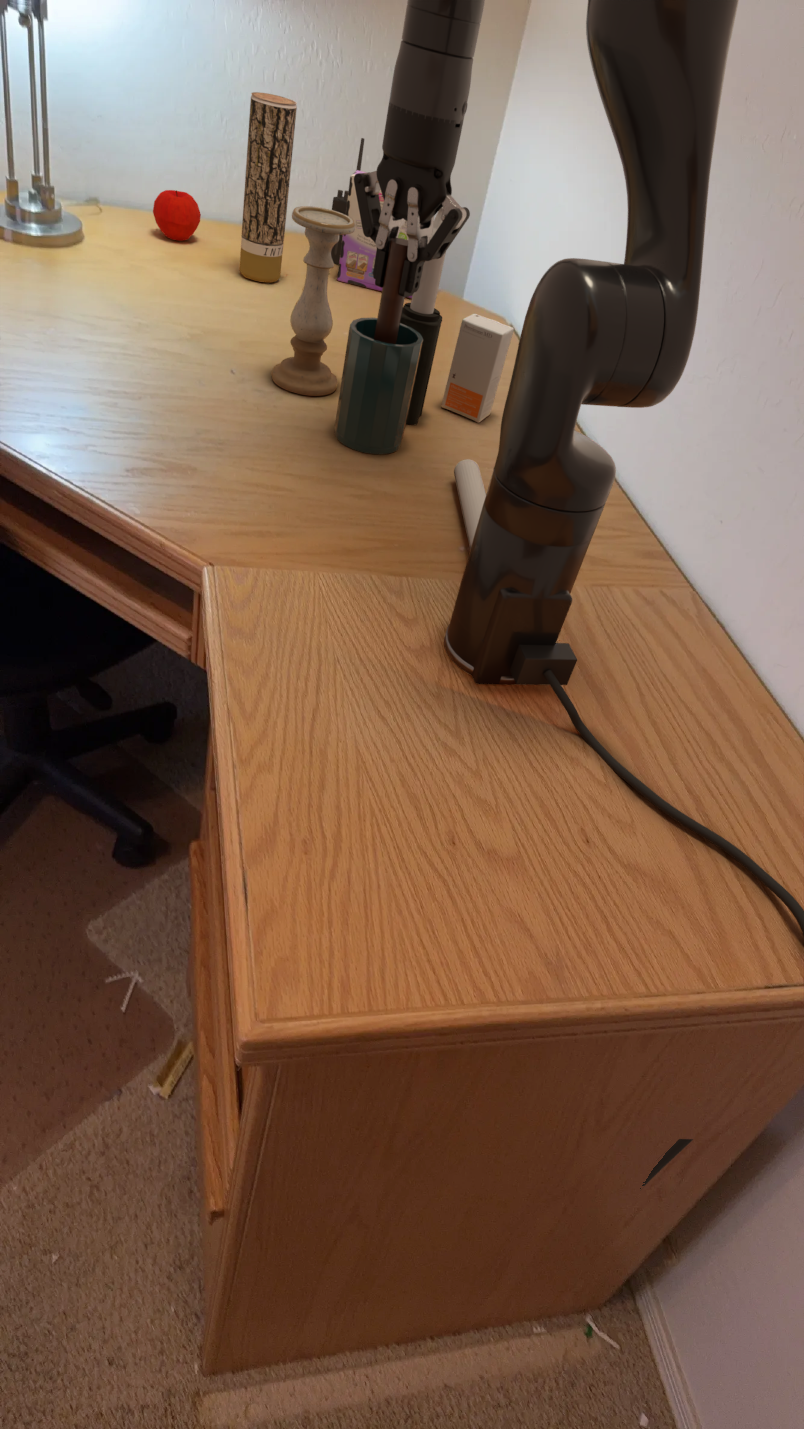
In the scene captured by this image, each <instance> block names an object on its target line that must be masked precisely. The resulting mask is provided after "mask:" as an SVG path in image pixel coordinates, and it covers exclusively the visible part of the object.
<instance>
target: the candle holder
mask: <svg viewBox="0 0 804 1429" xmlns="http://www.w3.org/2000/svg"><path fill="white" fill-rule="evenodd" d="M291 220H292V221H293V222H294V223H295V224H297V225H299V226H301V227H303V228H304V236H305V238H306V239H307V241H308V245H309V246H308V251H307V253H306V254H305V256H304V257H303V258H302V261H303V262H304V264H305V265H306V273H305V277H304V285H303V288H302V291H301V294H300V296H299V298H298V299H297V301H296V303H295V304H294V306H293V309H292V310H291V314H290V319H289V321H290V326H291V330H292V331H293V333H294V334H295V335H294V336H293V337H292V338H290V341H289V344H290V345H291V347H292V350H293V356H290V357H286V358H284V359H282V360H281V362H279V363H278V364H275V365H274V366H273V367H272V370H271V380H272V381H273V382H274V384H275V385H277V386H278V387H279V388H282V390H283V389H284V390H286V391H287V392H291V393H294V394H297V395H303V396H309V397H310V396H312V397H322V396H327V395H330V394H333V393H335V391H336V390H337V387H338V384H339V383H338V382H339V381H338V378H337V376H336V375H335V374H334V373H333V372H332V370H331V368H330V367H329V366H328V365H327V364H325V363H324V362H322V361H321V358H322V356H323V355H324V353H325V352H327V350H328V345H327V343H326V342H325V340H326V338H328V337H329V335H330V334H331V332H332V330H333V325H334V321H333V320H334V319H333V315H332V310H331V307H330V303H329V297H328V282H329V275H330V270H331V269H333V268H334V267H335V263H334V262H333V260H332V257H331V251H332V248H333V246H334V245H335V244H336V243H337V242H338V241H339V235H345V234H351V233H353V232H354V230H355V222H354V220H353V219H352V218H350V217H349V216H347V215H345V214H343V213H340V212H337V211H334V210H332V209H330V208H326V207H319V206H313V205H312V206H311V205H303V206H296V207H295V208H294V209H293V210H292V212H291Z"/></svg>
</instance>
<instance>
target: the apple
mask: <svg viewBox="0 0 804 1429" xmlns="http://www.w3.org/2000/svg"><path fill="white" fill-rule="evenodd" d="M152 214H153V218H154V220H155V223H156V225H157V227H158V228H159V230H160V232H162V234H163V235H164V236H165V237H166V238H168V239H170V240H172V241H177V242H180V241H181V242H183V241H187V240H189V239H190V238H191V237H192V236H193V235H194V234H195V232H196V231H197V229H198V227H199V225H200V223H201V218H202V217H201V215H202V214H201V211H200V208H199V204H198V202H197V201H196V200H195V198H194V196H192V195H191V194H189V193H188V192H186V191H181V190H176V189H175V190H174V189H166V190H163V191H160V193H159V194H158V195H157V196H156V198H155V199H154V202H153V208H152Z"/></svg>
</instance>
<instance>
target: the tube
mask: <svg viewBox="0 0 804 1429" xmlns="http://www.w3.org/2000/svg"><path fill="white" fill-rule="evenodd" d="M481 473H482V472H481V470H480V466H479V464H478V463H477V462H476V461H475V460H474V459H469V458H466V459H462V460H460V461H458V462H457V463H456V464H455V466H454V469H453V475H454V480H455V485H456V489H457V495H458V499H459V504H460V508H461V514H462V516H463V522H464V526H465V527H464V528H465V531H466V536H467V541H468V545H469V546H468V547H469V550H470V549H471V546H472V542H473V539H474V535H475V532H476V528H477V525H478V521H479V518H480V514H481V511H482V507H483V504H484V501H485V497H486V494H487V491H486V489H485V485H484V481H483V477H482V474H481Z"/></svg>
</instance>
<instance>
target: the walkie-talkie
mask: <svg viewBox="0 0 804 1429" xmlns="http://www.w3.org/2000/svg"><path fill="white" fill-rule="evenodd" d="M364 146H365V138H364V137H361V138H360V145H359V150H358V157H357V162H356V163H357V164H356V170H355V171H357V170H359V171H362V161H363V154H364ZM348 191H349V190H342V189H337V195H336V196H333V198H332V203H331V204H332V205H331V210H334V211H337V212H340V213H343V214H346V207H347V199H348ZM342 237H343V235H339V241H338V242H337V243H336V244H335V245H334V246H333V248H332V251H331V257H332V260H333V262H334V265H337V266H339V261H340V253H341V246H342Z"/></svg>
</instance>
